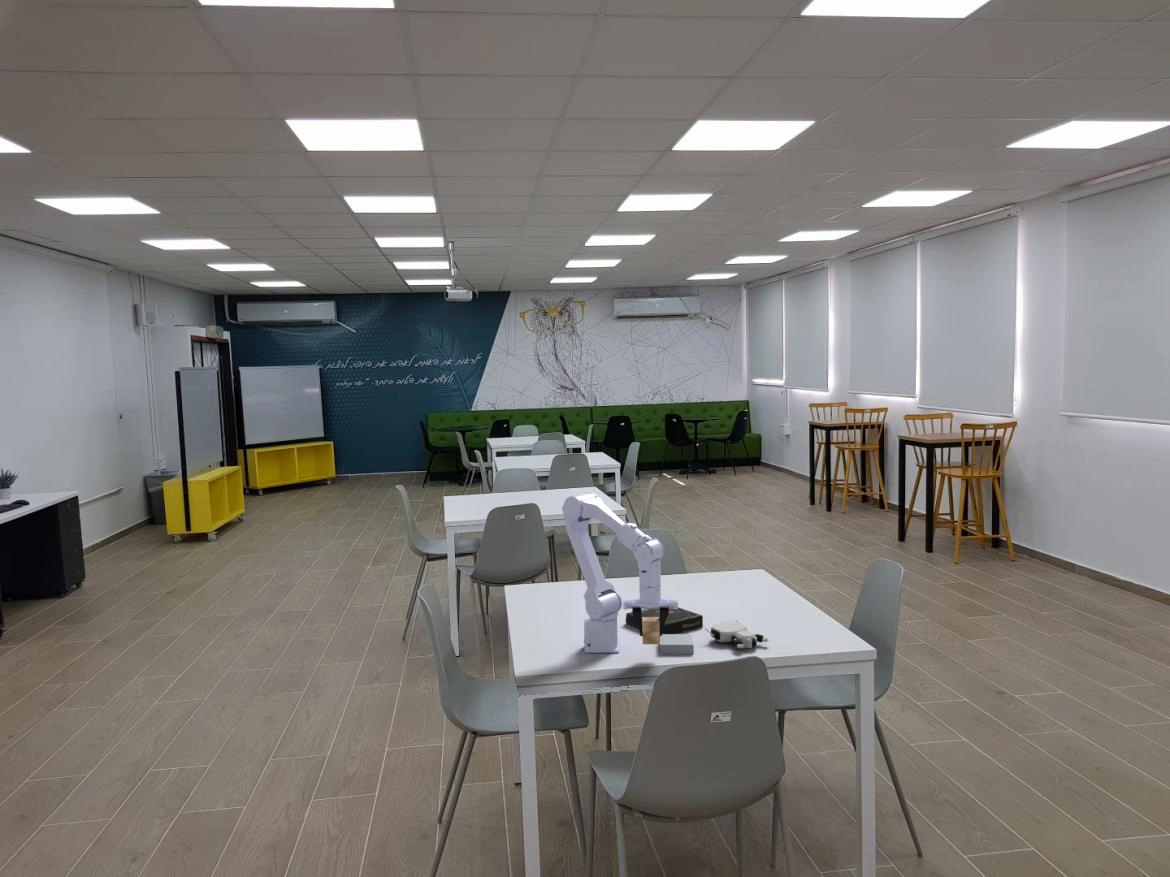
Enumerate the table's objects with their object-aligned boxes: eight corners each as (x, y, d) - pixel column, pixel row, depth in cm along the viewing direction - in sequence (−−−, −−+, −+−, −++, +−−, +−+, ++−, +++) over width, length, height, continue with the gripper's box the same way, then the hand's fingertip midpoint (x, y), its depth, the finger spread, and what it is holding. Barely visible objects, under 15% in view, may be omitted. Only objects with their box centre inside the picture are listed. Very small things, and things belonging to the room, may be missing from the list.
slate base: (660, 655, 222) (660, 644, 221) (660, 644, 231) (659, 634, 230) (693, 655, 221) (693, 644, 221) (691, 644, 230) (691, 634, 230)
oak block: (642, 644, 215) (642, 622, 214) (642, 638, 219) (642, 617, 219) (659, 644, 215) (659, 622, 214) (659, 638, 219) (658, 617, 219)
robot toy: (771, 649, 226) (734, 632, 238) (772, 634, 225) (735, 617, 238) (738, 658, 219) (702, 639, 232) (739, 642, 219) (703, 624, 231)
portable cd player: (666, 615, 259) (666, 603, 258) (702, 628, 244) (702, 615, 244) (625, 625, 250) (625, 612, 249) (660, 639, 235) (660, 626, 235)
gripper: (622, 589, 212) (623, 639, 213) (678, 589, 211) (678, 639, 212) (623, 582, 219) (624, 631, 220) (676, 582, 218) (677, 631, 219)
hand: (650, 634), depth 217 cm, fingers closed on oak block, 4 cm apart
